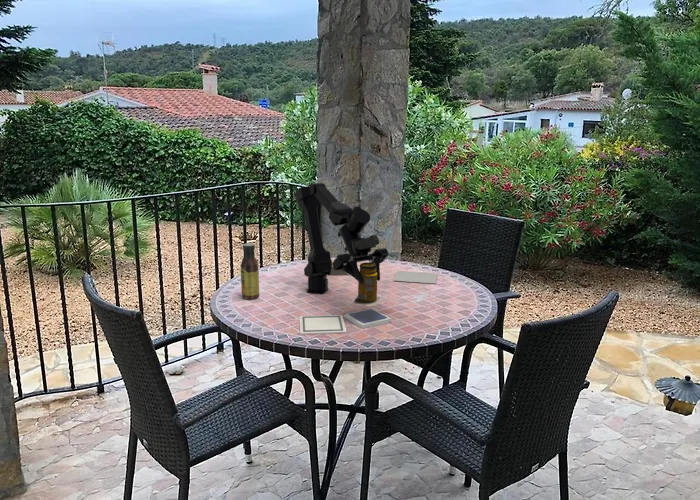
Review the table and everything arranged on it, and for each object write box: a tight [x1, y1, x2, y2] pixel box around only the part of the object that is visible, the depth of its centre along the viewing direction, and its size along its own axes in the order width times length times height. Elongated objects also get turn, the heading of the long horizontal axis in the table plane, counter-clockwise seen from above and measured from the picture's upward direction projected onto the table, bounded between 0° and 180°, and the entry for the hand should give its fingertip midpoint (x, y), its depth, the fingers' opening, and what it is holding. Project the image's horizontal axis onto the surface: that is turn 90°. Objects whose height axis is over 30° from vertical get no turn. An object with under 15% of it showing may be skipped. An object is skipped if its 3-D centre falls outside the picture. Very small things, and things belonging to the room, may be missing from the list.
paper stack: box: [393, 270, 438, 284], centre depth 220 cm, size 23×25×1 cm
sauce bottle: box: [240, 242, 260, 300], centre depth 196 cm, size 6×6×20 cm
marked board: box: [299, 314, 347, 336], centre depth 173 cm, size 14×14×1 cm
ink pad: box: [343, 308, 392, 330], centre depth 178 cm, size 11×11×2 cm
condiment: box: [352, 261, 380, 307], centre depth 175 cm, size 7×8×12 cm
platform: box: [329, 262, 348, 276], centre depth 226 cm, size 12×18×7 cm, turn 93°
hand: (371, 281), depth 174 cm, fingers closed on condiment, 6 cm apart
